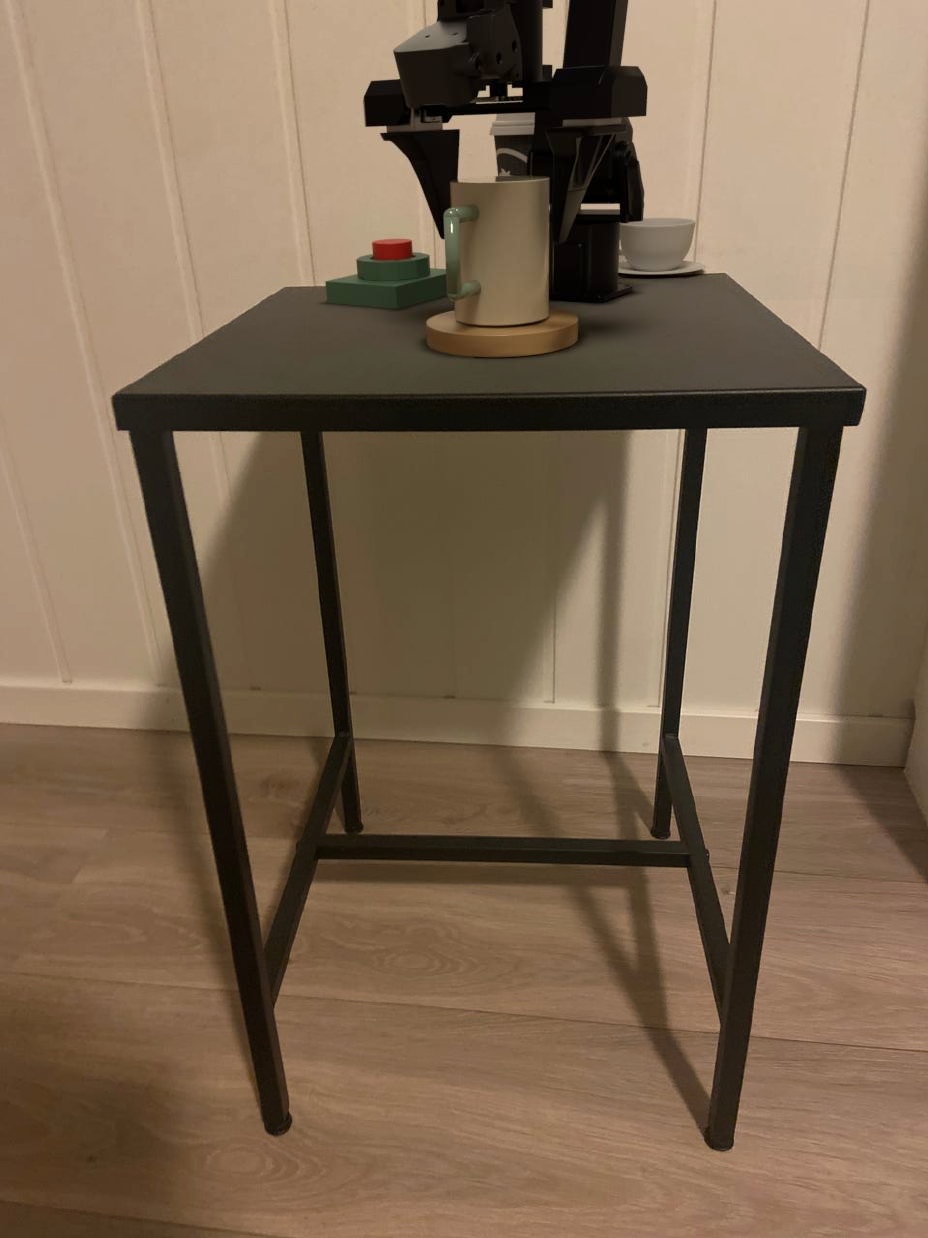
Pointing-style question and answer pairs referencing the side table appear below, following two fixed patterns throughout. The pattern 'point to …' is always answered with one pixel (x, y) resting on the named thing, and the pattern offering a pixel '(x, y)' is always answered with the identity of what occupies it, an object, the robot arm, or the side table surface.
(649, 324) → the side table surface
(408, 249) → the button
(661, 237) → the teacup
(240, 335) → the side table surface
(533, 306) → the jug
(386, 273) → the button box
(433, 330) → the disc
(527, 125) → the coffee cup
